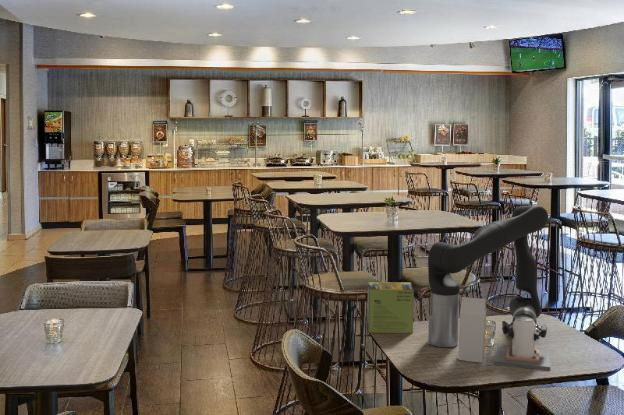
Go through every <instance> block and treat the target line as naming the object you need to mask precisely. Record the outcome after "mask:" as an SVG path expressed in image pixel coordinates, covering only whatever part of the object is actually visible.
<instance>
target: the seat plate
mask: <svg viewBox="0 0 624 415" xmlns="http://www.w3.org/2000/svg"><path fill="white" fill-rule="evenodd" d="M550 352H551V350H548V349H547V350H546V349H539V348H534V357H533V358H522V357H514V356H513V355H512V346H510V345H509V346H508V345H497V344H496V350H495V355H494V361H493V362H494V363H493V364H494V365H497V366H506V367H515V368H516V367H517V368H525V369H535V370H542V371H543V370H544V371H551V353H550Z"/></svg>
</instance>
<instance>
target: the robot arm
mask: <svg viewBox="0 0 624 415" xmlns="http://www.w3.org/2000/svg"><path fill="white" fill-rule="evenodd" d="M548 222H549V214H548V211H547V210H546V209H545V207H543V206H541V205H537V204H531V205H530V204H529V205H521V206H517V207H516V208H515V209H514V210H513V212H512V215H511V217H508V218H503V219H499V220H496V221H495V220H494V221H491V222H489V223H487V224H485V225H483V226H481V227H479V228H478V229H477V230H476V231H475V232H474V234H473V235H472V239H471V240H469V241H466V242H465V243H461V244H451V243H447V242H443V241H442V242H440V241H439V242H438V241H437V242H435V243H434V244H433V245H432V246H431V247H430V249H429V251H428V258H427V262H428V263H427V269H428V270H427V271H428V277H427V278H428V284H429V286H430V302H429V303H430V304H429V316H428V334H427V335H428V336H427V337H428V338H427V339H428V340H427V341H428V342H427V345H431V346H435V347H439V348H454V347H456V346H458V345H459V324H460V284H459V283H458V282H457V280H455V279H454V278H453V277H452V274H457V273H460V272H462V271H463V270H465V269H466V268H468V267H469V266H470V265H472V264H474V263H475V262H477V261H478V260H480V259H482V258H484V257H486V256H488V255H490V254H492V253H495V252H496V251H498V250H500V249H503V248H504V247H506V246H508V245H510V244H511V243H513V244H514V251H515V263H516V266H515V270H516V271H515V288H516V289H517V291H518V290H519V291H522V292H526V293H528V294H529V296H530V297H521V296H520V297H519V296H516V297H513V298H512V299H511V300H510V302H509V307H508V308H509V312H510V315H511V316H512V322H510V323H509V322H507V321H505V320H502V321H501V331H502V334H503V335H507V334H508V337H510V339H513V332H514V331H513V323H514V320H515V317H516V316H529V317H532V318H534V322H535V333H534V341H535V342H536V341H537V340H539V339H540V337H541V338H546V335H547V333H548V332H547V331H548V325H547V324H543V325H541V326H540V325H538V321H537V320H538V318H539V317H540V315H541V314H542V306H541V301H540V299H539V293H538V284H537V279H538V277H537V276H538V266H537V262H536V259H535V258H534V255H533V253H532V251H531V248H530V245H529V241H528V237H529V235H530V234H533V233H535V232H539V231H542V230H543V229H544V228H545V227H546V225H547V223H548Z"/></svg>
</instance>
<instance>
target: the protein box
mask: <svg viewBox="0 0 624 415" xmlns="http://www.w3.org/2000/svg"><path fill="white" fill-rule="evenodd" d="M414 297H415V289H414V287H413V285H412V282H408V281H407V282H399V281H398V282H396V281H395V282H394V281H393V282H390V281H385V282H381V281H379V282H378V281H376V282H375V281H373V282H372V281H371V282H369V281H368V282H367V314H366V315H367V318H366V319H367V320H366V322H367V323H366V324H367V325H366V326H367V331H368V333H370V334H371V333H373V334H374V333H375V334H380V333H381V334H413V333H414V300H415V298H414Z"/></svg>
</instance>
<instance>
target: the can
mask: <svg viewBox="0 0 624 415" xmlns="http://www.w3.org/2000/svg"><path fill="white" fill-rule="evenodd" d="M513 331H514V332H513V338H512V346H511V347H512V355H513V356H514V357H522V358H533V357H534V349H535V342H536V341H534V333H535V322H534V318H532V317H529V316H516V317H515V320H514V323H513Z"/></svg>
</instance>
